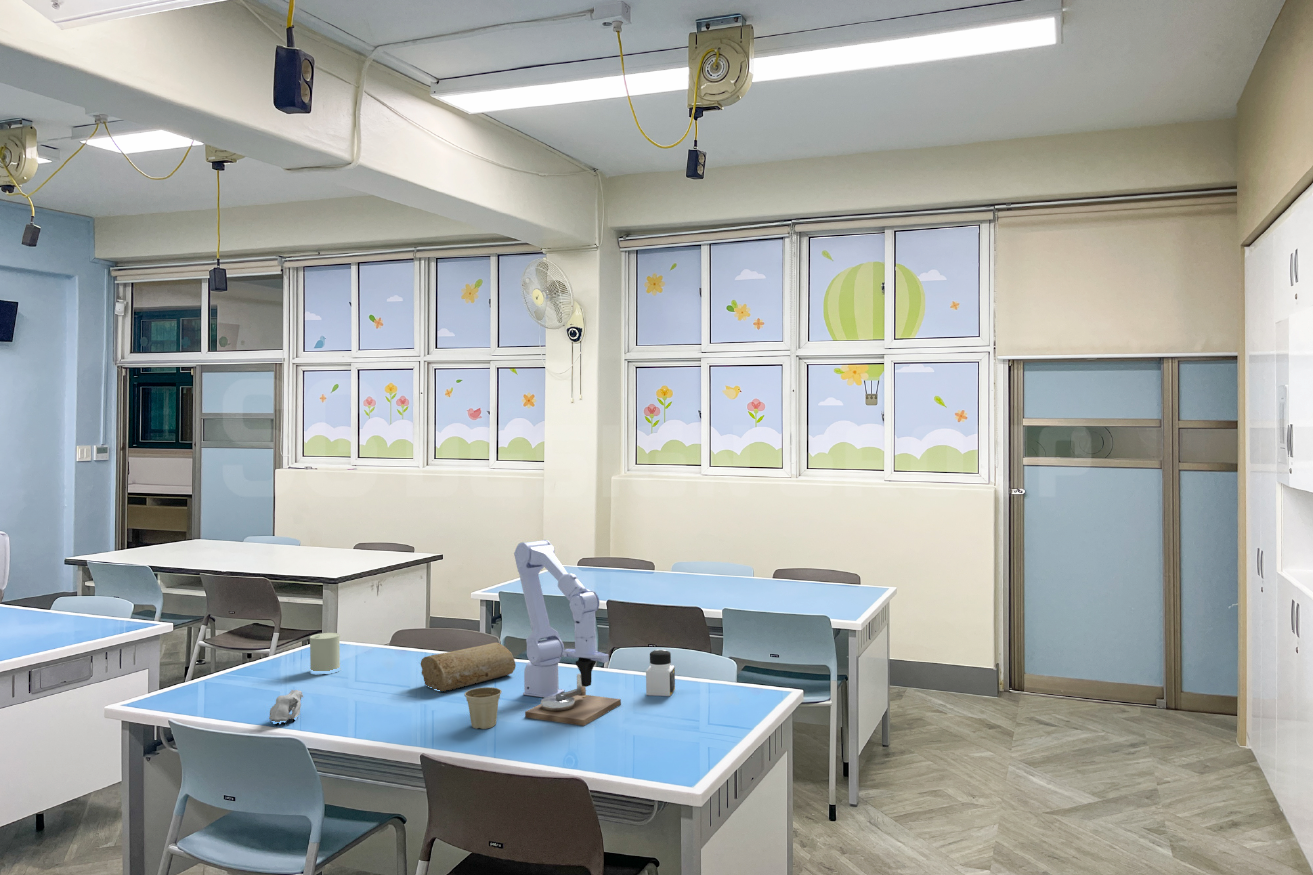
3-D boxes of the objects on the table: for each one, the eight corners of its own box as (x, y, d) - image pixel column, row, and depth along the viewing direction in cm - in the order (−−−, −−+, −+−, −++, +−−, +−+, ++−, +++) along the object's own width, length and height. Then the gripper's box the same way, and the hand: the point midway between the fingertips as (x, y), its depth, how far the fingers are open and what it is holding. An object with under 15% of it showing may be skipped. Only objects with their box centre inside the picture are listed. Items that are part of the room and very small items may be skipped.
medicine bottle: (670, 696, 258) (670, 654, 258) (646, 695, 260) (645, 653, 260) (675, 689, 265) (674, 648, 265) (651, 688, 266) (650, 647, 266)
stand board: (525, 717, 241) (525, 710, 241) (565, 697, 259) (564, 691, 259) (583, 725, 233) (583, 719, 233) (620, 704, 251) (620, 698, 251)
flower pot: (484, 733, 228) (484, 699, 228) (457, 727, 233) (456, 694, 233) (509, 723, 236) (509, 690, 236) (482, 717, 241) (482, 685, 241)
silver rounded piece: (557, 712, 238) (556, 688, 238) (533, 706, 244) (533, 682, 244) (596, 699, 250) (595, 676, 250) (573, 694, 255) (572, 671, 255)
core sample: (516, 677, 283) (515, 644, 283) (444, 695, 263) (443, 661, 263) (488, 669, 292) (488, 638, 292) (417, 687, 273) (416, 654, 273)
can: (303, 672, 291) (303, 635, 291) (328, 666, 299) (328, 630, 299) (321, 676, 286) (320, 638, 286) (346, 670, 294) (345, 633, 294)
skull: (257, 718, 235) (274, 677, 244) (273, 735, 241) (289, 695, 250) (284, 717, 234) (301, 676, 243) (300, 735, 240) (315, 694, 248)
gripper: (615, 635, 250) (616, 685, 250) (574, 630, 258) (575, 678, 258) (599, 640, 244) (600, 691, 244) (557, 635, 252) (558, 684, 252)
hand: (586, 685), depth 250 cm, fingers closed, pressing on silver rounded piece
